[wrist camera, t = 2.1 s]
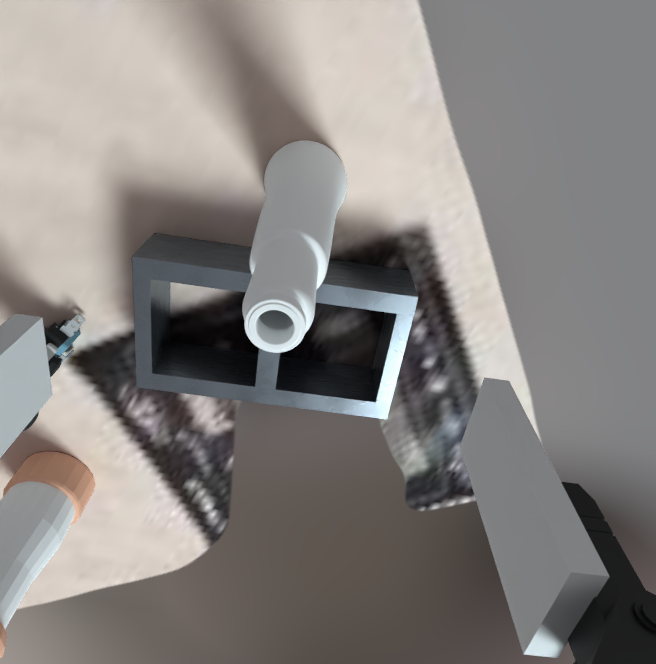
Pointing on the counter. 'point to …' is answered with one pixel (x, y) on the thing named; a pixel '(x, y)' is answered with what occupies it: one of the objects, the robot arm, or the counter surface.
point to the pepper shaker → (37, 522)
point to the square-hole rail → (264, 367)
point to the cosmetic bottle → (292, 243)
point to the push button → (59, 345)
